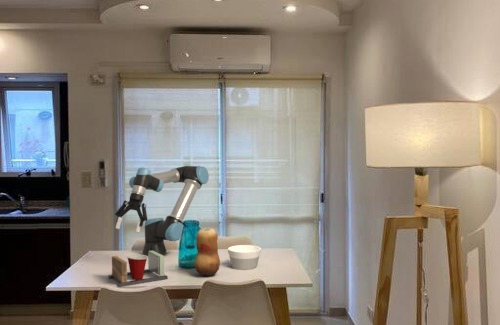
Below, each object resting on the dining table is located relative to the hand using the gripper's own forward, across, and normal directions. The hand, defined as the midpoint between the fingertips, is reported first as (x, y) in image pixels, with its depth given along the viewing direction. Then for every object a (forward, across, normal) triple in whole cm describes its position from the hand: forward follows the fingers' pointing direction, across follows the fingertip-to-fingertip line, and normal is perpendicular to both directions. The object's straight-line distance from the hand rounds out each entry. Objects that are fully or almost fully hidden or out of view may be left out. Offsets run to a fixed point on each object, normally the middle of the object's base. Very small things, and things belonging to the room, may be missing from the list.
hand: (127, 230), depth 263 cm
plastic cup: (+24, +18, -5) cm, 31 cm away
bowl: (+5, +61, +33) cm, 69 cm away
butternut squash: (+15, +49, +11) cm, 53 cm away
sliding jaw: (+19, +24, +2) cm, 31 cm away
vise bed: (+24, +18, -5) cm, 31 cm away
